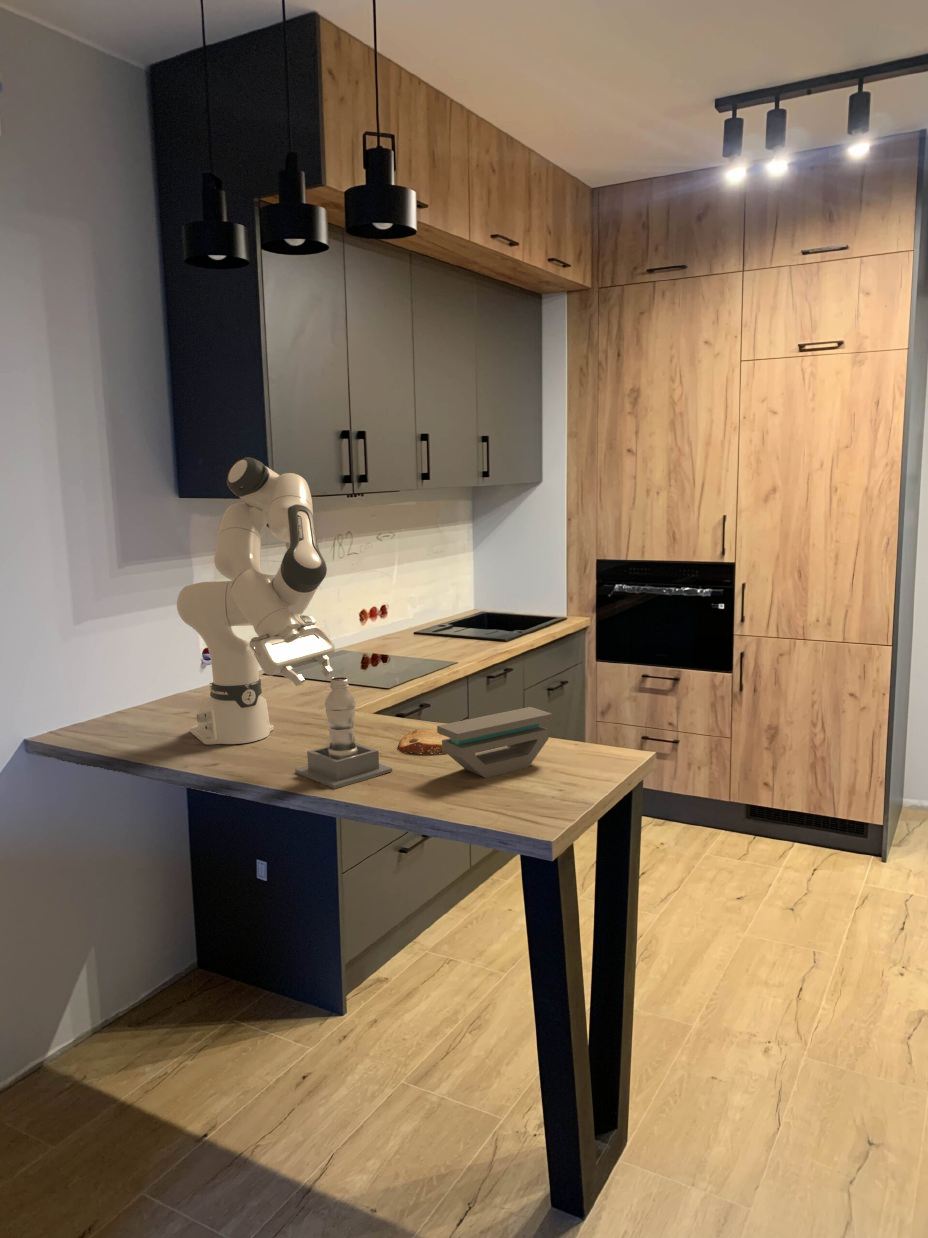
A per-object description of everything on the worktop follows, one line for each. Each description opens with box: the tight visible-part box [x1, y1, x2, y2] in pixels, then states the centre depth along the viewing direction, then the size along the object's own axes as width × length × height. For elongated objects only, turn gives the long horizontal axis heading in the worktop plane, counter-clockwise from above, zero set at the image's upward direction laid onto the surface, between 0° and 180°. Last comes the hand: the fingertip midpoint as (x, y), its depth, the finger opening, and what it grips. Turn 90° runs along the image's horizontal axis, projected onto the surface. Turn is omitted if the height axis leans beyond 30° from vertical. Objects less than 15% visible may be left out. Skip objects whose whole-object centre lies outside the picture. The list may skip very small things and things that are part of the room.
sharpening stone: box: [436, 706, 553, 779], centre depth 202 cm, size 25×8×11 cm, turn 124°
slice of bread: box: [397, 729, 449, 755], centre depth 221 cm, size 18×18×4 cm
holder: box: [295, 742, 393, 790], centre depth 202 cm, size 15×15×5 cm
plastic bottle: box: [324, 676, 358, 760], centre depth 201 cm, size 6×7×20 cm
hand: (315, 679), depth 202 cm, fingers open, 8 cm apart
